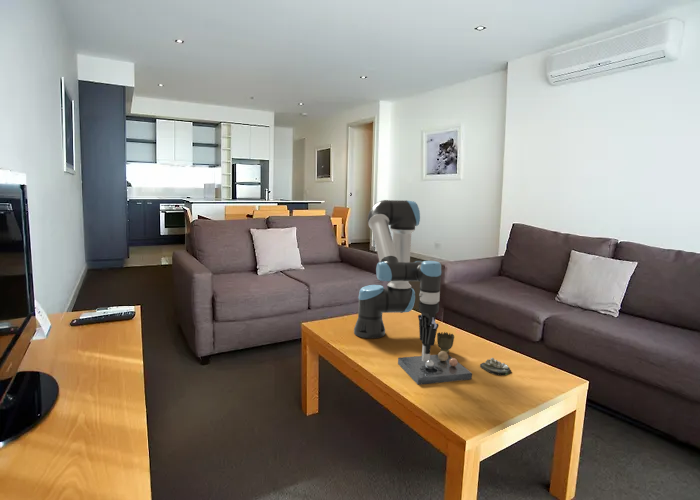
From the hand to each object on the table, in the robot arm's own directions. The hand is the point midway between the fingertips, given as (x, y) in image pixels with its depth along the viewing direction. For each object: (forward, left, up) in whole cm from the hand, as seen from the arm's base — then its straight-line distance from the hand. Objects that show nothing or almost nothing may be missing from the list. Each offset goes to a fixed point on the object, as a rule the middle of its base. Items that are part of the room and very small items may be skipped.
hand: (425, 360), depth 164 cm
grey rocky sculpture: (+5, +29, -5) cm, 29 cm away
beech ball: (-2, +9, 0) cm, 9 cm away
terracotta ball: (+4, +10, 0) cm, 11 cm away
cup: (-16, +17, -4) cm, 24 cm away
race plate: (+1, +3, -4) cm, 5 cm away
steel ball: (+4, 0, 0) cm, 4 cm away
